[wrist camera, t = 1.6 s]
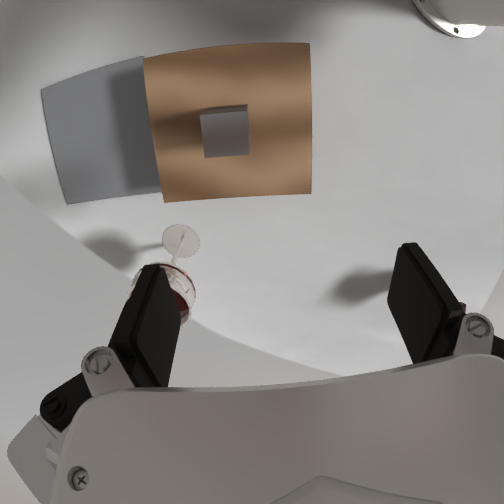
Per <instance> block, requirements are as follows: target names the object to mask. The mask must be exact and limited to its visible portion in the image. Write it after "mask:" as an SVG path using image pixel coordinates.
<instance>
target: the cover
mask: <svg viewBox="0 0 504 504" xmlns="http://www.w3.org/2000/svg"><path fill="white" fill-rule="evenodd" d="M142 60H143V70H144V79H145V87H146V95H147V103H148V110H149V117H150V124H151V131H152V137H153V144H154V150H155V156H156V161H157V167H158V173H159V178H160V183H161V189H162V194H163V199H164V203H168V202H179V201H191V200H203V199H217V198H232V197H249V196H268V195H292V194H311V186H312V94H311V63H310V43H253V44H237V45H225V46H216V47H207V48H199V49H192V50H186V51H180V52H174V53H168V54H163V55H158V56H153V57H149V58H144V59H142Z"/></svg>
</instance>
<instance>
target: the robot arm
mask: <svg viewBox="0 0 504 504" xmlns="http://www.w3.org/2000/svg"><path fill="white" fill-rule="evenodd" d="M413 2H414V4H415V5H416V7H417V8H418V10H419V11H420V12H421V13H422V14H423V16H424V17H425V18H426V19H427V20H428V21H429V22H430V23H431V24H432V25H434V26H435V27H436V28H438V29H439V30H441V31H442V32H444V33H446V34H448V35H450V36H453V37H457V38H473V37H476V36H478V35H480V34H481V33H482V32H483V31H484V29H485V27H486V26H504V0H413ZM387 303H388V306H389V308H390V311H391V313H392V315H393V317H394V319H395V322H396V324H397V326H398V328H399V331H400V333H401V335H402V338H403V340H404V342H405V345H406V347H407V350H408V352H409V355H410V357H411V360H412V362H413V364H411V365H406V366H402V367H397V368H392V369H387V370H382V371H376V372H371V373H365V374H359V375H353V376H346V377H339V378H332V379H326V380H325V379H324V380H317V381H307V382H298V383H288V384H276V385H261V386H243V387H203V388H202V387H196V388H195V387H194V388H178V387H177V388H175V387H170V388H169V387H168V383H169V378H170V373H171V368H172V363H173V358H174V353H175V349H176V343H177V339H178V335H179V330H180V326H181V316H180V313H179V310H178V307H177V304H176V301H175V298H174V295H173V292H172V289H171V286H170V283H169V280H168V277H167V274H166V271H165V269H164V268H163V267H160V265H159V264H152V265H144V267H143V269H142V271H141V273H140V276H139V278H138V280H137V282H136V285H135V287H134V289H133V291H132V294H131V296H130V298H129V299H128V300H127V301H126V303H125V305H124V308H123V310H122V313H121V315H120V317H119V320H118V322H117V325H116V327H115V330H114V332H113V335H112V337H111V339H110V342H109V345H108V347H104V346H102V347H97V348H94V349H92V350H91V351H89V352H88V353H87V354H86V355H85V356H84V358H83V360H82V363H81V369H82V372H81V373H80V374H78V375H77V376H75V377H73V378H72V379H70V380H69V381H67V382H66V383H64V384H63V385H61V386H59V387H58V388H56V389H55V390H53V391H52V392H50V393H49V394H47V395H46V396H45V397H44V399H43V400H42V402H41V405H40V415H39V416H36V415H35V416H34V417H33V418H32V419H31V420H30V421H29V422H28V423H27V424H26V426H25V427H24V428H23V429H22V430H21V431H20V433H19V434H17V436H16V437H15V438H14V439H13V440H12V441H11V443H10V444H9V446H8V450H7V452H8V458H9V460H10V462H11V464H12V465H13V467H14V468H15V470H16V471H17V472H18V474H19V475H20V477H21V478H22V480H23V481H24V482H25V484H26V485H27V486H28V488H29V489H30V490H31V492H32V493H33V494H34V496H35V497H36V498H37V499H38V501H39V502H40V503H41V504H504V340H503V339H501V338H499V337H497V336H495V335H494V328H493V326H492V323H491V322H490V321H489V319H487V318H486V317H485V316H483V315H481V314H479V313H469V314H466V315H465V314H464V312H463V308H462V306H461V305H460V303H459V302H458V300H457V299H456V297H455V296H454V294H453V293H452V291H451V290H450V288H449V287H448V285H447V284H446V282H445V281H444V279H443V278H442V277H441V275H440V274H439V272H438V271H437V269H436V268H435V267H434V265H433V264H432V263H431V261H430V260H429V258H428V257H427V256H426V254H425V253H424V252H423V250H422V249H421V248H420V247H419V245H418V244H417V243H415V242H414V243H404V244H402V246H401V247H400V248H398V251H397V256H396V261H395V266H394V271H393V275H392V280H391V284H390V289H389V293H388V297H387Z"/></svg>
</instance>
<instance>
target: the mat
mask: <svg viewBox="0 0 504 504" xmlns="http://www.w3.org/2000/svg"><path fill="white" fill-rule="evenodd" d="M142 59H144V56H141V57H137V58H133V59H129V60H125V61H121V62H117V63H114V64H110V65H107V66H104V67H100V68H97V69H94V70H91V71H88V72H85V73H82V74H79V75H76V76H73V77H71V78H68V79H65V80H63V81H60V82H58V83H55V84H53V85H50V86H48V87H45V88H43V89H41V91H42V98H43V105H44V111H45V116H46V122H47V127H48V132H49V137H50V141H51V146H52V150H53V155H54V159H55V163H56V167H57V170H58V174H59V178H60V182H61V185H62V189H63V192H64V195H65V199H66V202H67V205H68V204H74V203H81V202H87V201H94V200H101V199H108V198H115V197H123V196H131V195H139V194H148V193H157V192H162V189H161V183H160V178H159V173H158V167H157V161H156V156H155V150H154V144H153V137H152V131H151V124H150V117H149V110H148V103H147V95H146V87H145V79H144V70H143V60H142Z"/></svg>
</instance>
